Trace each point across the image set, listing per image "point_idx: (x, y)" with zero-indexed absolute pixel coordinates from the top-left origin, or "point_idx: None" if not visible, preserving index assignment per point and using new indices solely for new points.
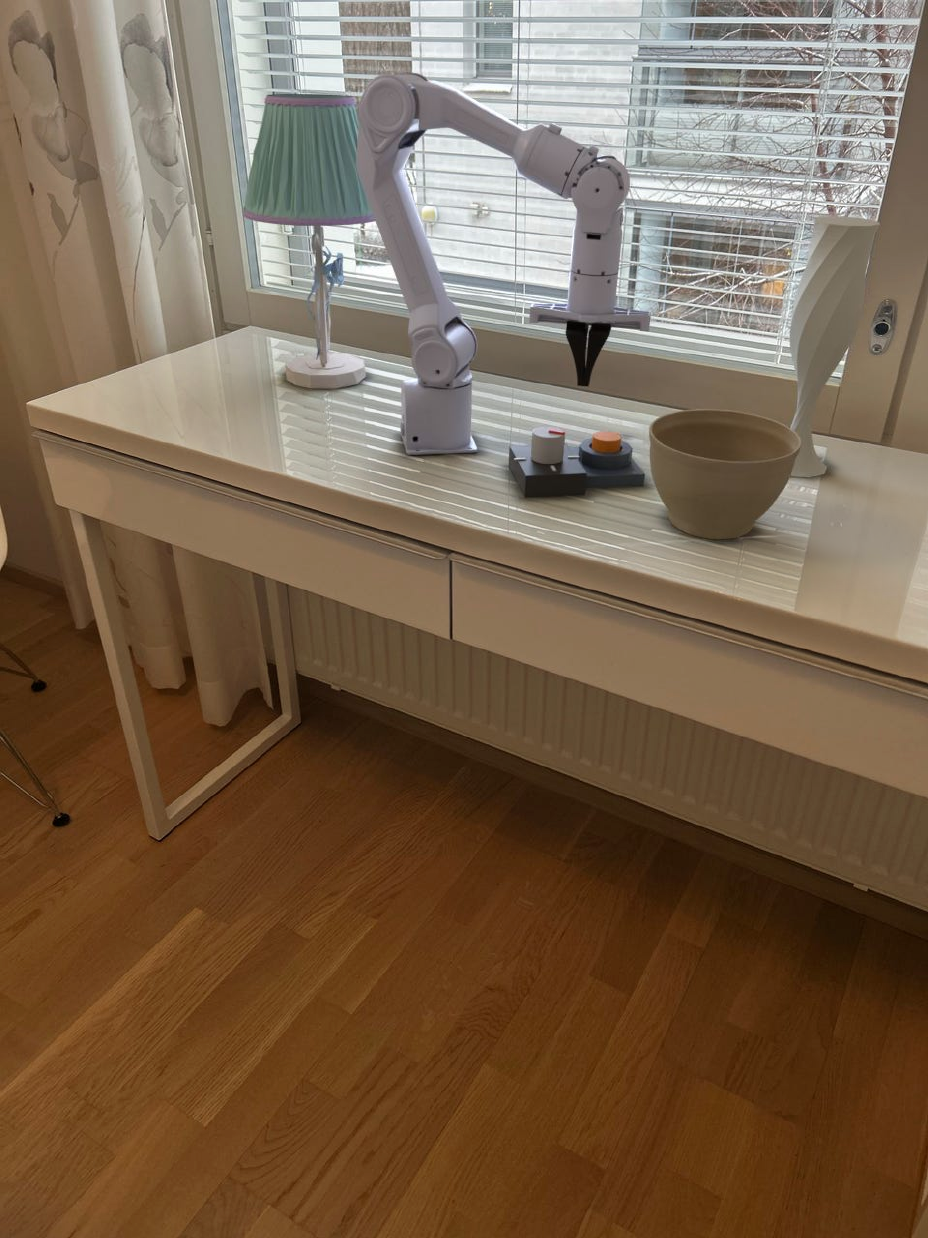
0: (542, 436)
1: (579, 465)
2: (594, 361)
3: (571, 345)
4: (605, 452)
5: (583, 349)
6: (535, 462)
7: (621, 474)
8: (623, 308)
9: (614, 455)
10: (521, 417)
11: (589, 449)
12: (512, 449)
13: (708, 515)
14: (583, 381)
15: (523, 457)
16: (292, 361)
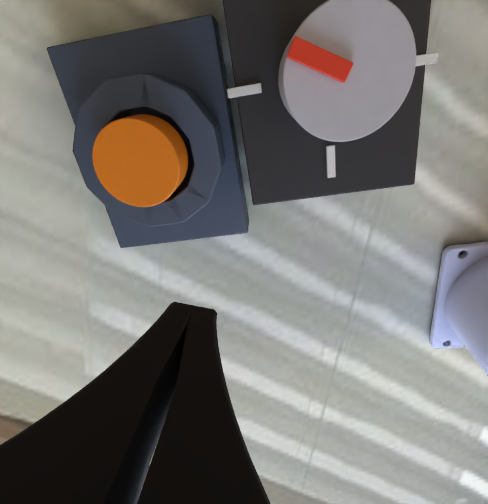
0: (389, 8)
1: (232, 15)
2: (102, 376)
3: (257, 502)
4: (148, 115)
5: (157, 458)
6: None
7: (110, 37)
8: None
9: (120, 82)
10: (307, 403)
11: (194, 132)
12: (415, 150)
13: None
14: (189, 313)
15: None
16: None
